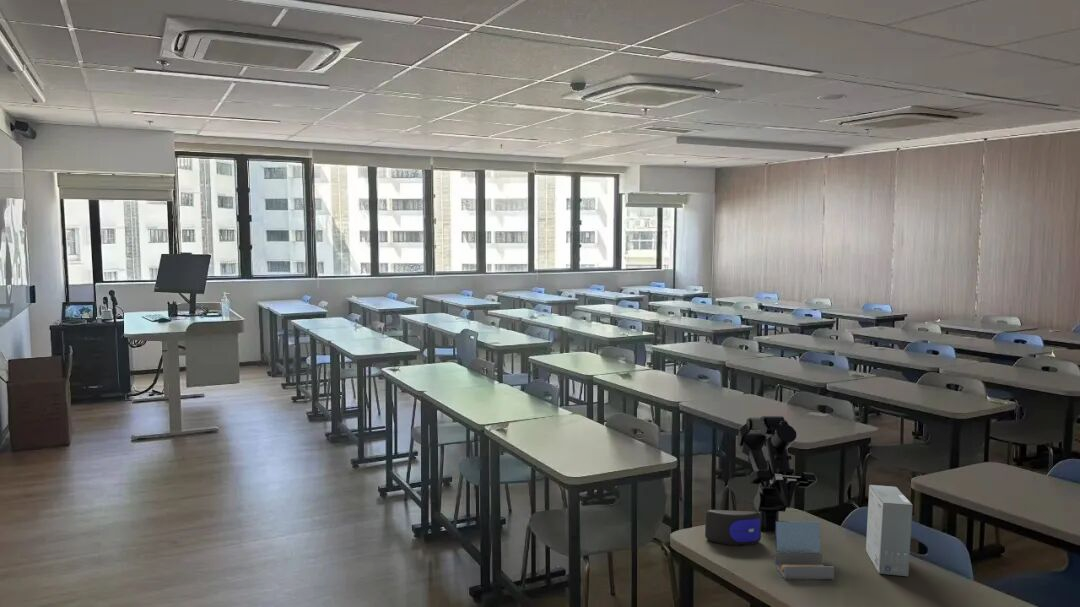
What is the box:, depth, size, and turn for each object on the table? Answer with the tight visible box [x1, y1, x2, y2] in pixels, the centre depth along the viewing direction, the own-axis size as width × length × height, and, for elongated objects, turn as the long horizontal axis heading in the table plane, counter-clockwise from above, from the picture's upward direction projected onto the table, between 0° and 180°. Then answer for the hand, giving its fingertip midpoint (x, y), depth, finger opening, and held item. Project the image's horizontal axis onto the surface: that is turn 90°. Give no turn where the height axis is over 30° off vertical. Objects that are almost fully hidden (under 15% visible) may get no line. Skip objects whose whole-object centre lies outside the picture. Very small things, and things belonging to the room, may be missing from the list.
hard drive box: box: [865, 484, 914, 577], centre depth 198 cm, size 16×8×20 cm, turn 168°
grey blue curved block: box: [704, 509, 762, 546], centre depth 211 cm, size 16×5×9 cm, turn 84°
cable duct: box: [773, 552, 835, 581], centre depth 193 cm, size 9×13×4 cm, turn 90°
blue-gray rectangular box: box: [774, 520, 821, 553], centre depth 197 cm, size 8×12×1 cm
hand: (788, 507), depth 205 cm, fingers closed
